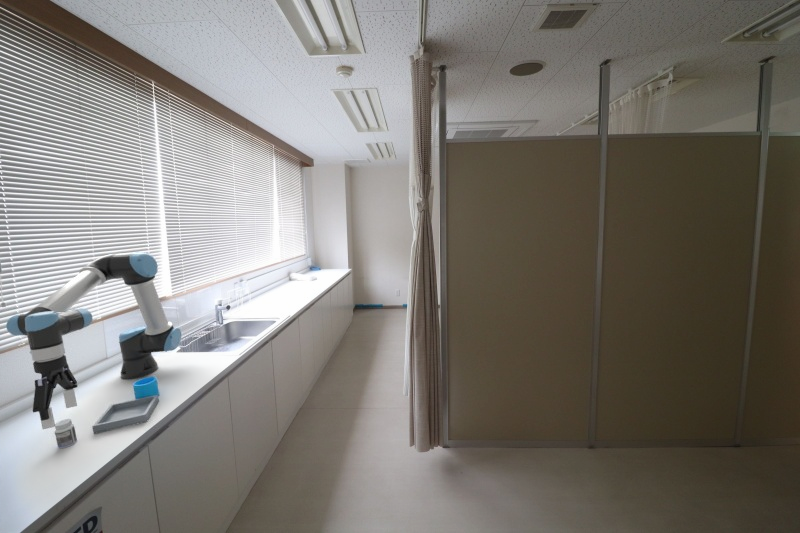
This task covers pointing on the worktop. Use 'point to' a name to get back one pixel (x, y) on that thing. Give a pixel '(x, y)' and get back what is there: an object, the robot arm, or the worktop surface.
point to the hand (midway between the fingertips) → (61, 416)
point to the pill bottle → (65, 433)
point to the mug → (146, 387)
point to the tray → (126, 414)
